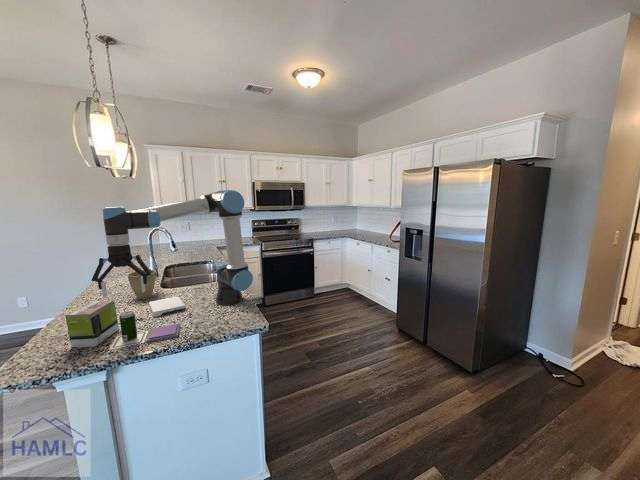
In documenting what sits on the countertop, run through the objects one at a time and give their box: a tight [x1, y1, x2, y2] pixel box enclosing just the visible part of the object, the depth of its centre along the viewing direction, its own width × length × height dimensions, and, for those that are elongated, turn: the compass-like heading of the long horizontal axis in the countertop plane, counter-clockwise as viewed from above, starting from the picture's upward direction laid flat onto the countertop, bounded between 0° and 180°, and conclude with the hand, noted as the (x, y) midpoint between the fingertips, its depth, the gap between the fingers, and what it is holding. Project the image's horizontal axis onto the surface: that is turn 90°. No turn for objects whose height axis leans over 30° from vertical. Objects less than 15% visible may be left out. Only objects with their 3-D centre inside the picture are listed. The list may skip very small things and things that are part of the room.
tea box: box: [65, 300, 120, 348], centre depth 118 cm, size 15×10×15 cm
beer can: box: [119, 310, 138, 342], centre depth 116 cm, size 5×5×12 cm
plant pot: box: [126, 269, 157, 300], centre depth 168 cm, size 15×15×16 cm
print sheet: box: [108, 330, 149, 351], centre depth 117 cm, size 12×12×1 cm
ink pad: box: [145, 323, 181, 344], centre depth 122 cm, size 12×12×2 cm
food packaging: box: [148, 296, 186, 318], centre depth 151 cm, size 15×3×20 cm
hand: (125, 294), depth 114 cm, fingers open, 13 cm apart
